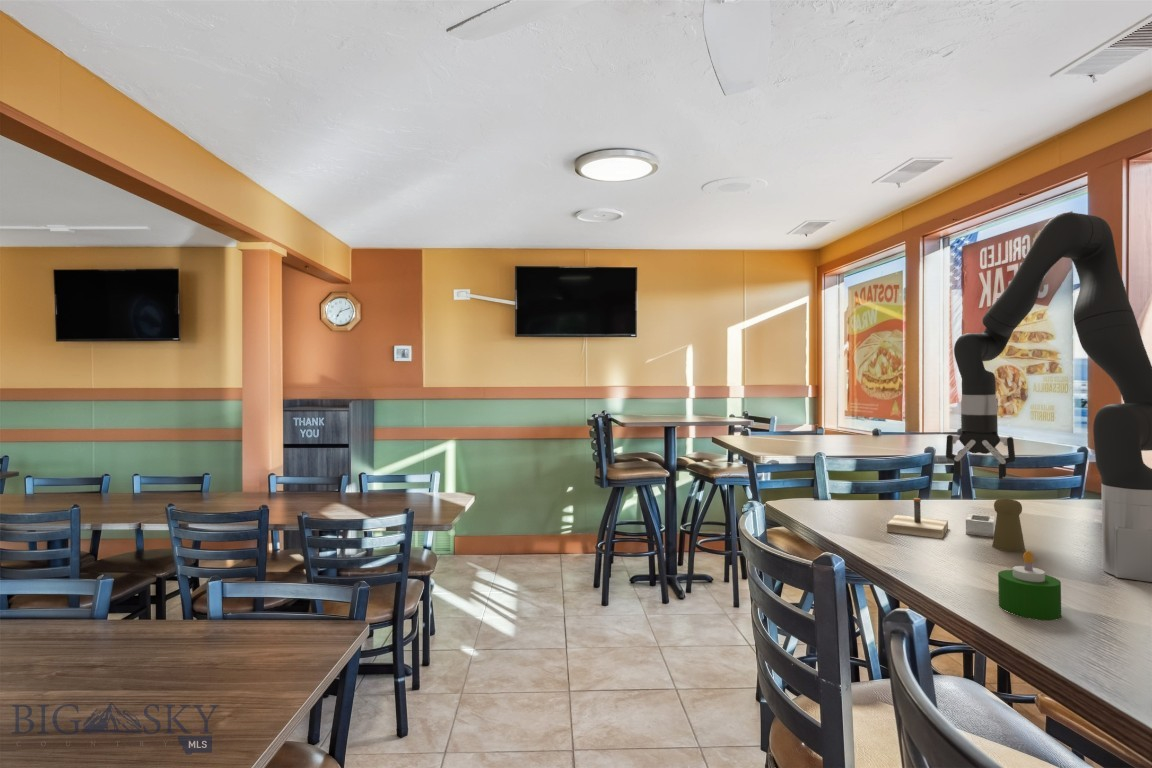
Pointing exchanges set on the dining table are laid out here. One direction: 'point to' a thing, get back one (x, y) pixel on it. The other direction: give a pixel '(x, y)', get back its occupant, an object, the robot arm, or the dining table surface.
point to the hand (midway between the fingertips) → (980, 477)
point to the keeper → (917, 524)
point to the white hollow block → (980, 525)
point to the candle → (1029, 591)
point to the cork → (1008, 526)
